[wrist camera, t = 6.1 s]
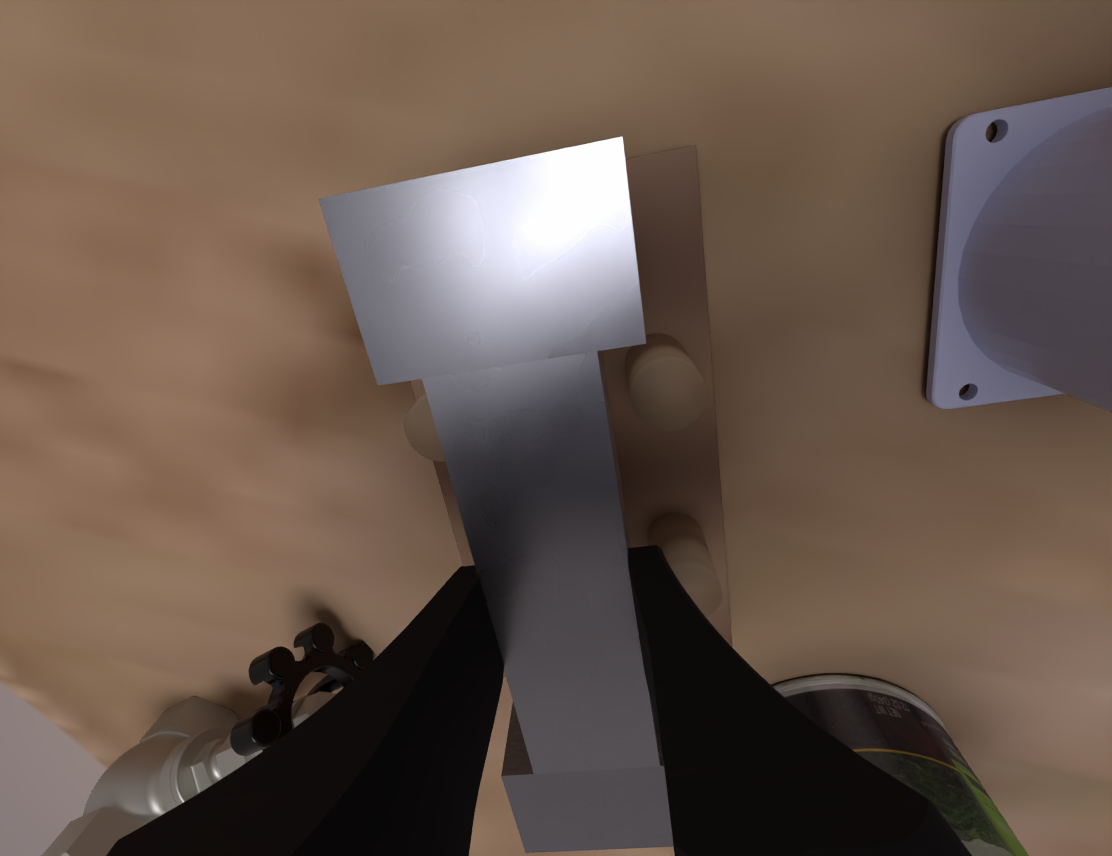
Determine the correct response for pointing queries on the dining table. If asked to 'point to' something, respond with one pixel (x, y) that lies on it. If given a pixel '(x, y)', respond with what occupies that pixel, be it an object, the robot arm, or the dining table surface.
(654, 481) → the peg rack
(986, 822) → the coffee can
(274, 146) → the dining table surface
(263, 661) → the valve
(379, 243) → the metal i-beam
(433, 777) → the robot arm
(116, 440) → the dining table surface
